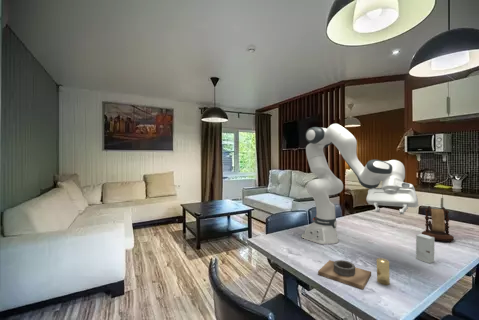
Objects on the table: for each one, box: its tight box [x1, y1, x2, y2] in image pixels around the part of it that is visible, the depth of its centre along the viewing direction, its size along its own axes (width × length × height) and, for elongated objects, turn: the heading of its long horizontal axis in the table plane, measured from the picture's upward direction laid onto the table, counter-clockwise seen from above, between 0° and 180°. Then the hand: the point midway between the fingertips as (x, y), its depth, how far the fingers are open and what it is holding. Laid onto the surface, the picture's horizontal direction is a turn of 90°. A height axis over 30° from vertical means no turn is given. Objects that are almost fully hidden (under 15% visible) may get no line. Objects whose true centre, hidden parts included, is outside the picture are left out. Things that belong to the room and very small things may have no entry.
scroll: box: [421, 205, 455, 243], centre depth 137 cm, size 15×15×20 cm
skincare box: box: [415, 233, 436, 264], centre depth 110 cm, size 6×4×12 cm
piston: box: [376, 257, 391, 286], centre depth 92 cm, size 4×4×9 cm
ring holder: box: [317, 259, 372, 290], centre depth 98 cm, size 18×14×4 cm
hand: (389, 212), depth 102 cm, fingers open, 8 cm apart
